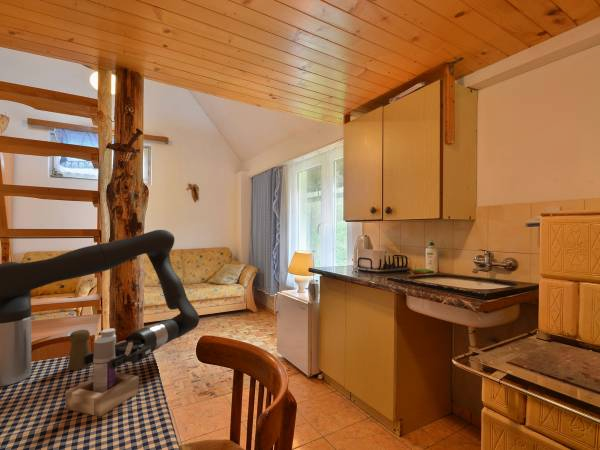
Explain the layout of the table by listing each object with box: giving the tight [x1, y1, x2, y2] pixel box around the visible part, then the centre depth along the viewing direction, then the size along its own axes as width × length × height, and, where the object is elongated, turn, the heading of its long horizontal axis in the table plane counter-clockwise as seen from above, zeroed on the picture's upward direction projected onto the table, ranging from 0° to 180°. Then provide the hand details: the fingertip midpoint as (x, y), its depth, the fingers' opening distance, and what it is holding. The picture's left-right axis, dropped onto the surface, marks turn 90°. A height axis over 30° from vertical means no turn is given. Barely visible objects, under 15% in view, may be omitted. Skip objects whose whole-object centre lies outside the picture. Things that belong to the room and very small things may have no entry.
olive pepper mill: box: [67, 329, 92, 371], centre depth 95 cm, size 6×6×11 cm
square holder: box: [64, 371, 140, 417], centre depth 77 cm, size 11×11×4 cm
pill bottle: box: [99, 327, 117, 343], centre depth 103 cm, size 5×5×8 cm
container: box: [92, 337, 116, 393], centre depth 77 cm, size 5×5×15 cm
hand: (97, 363), depth 75 cm, fingers open, 8 cm apart
